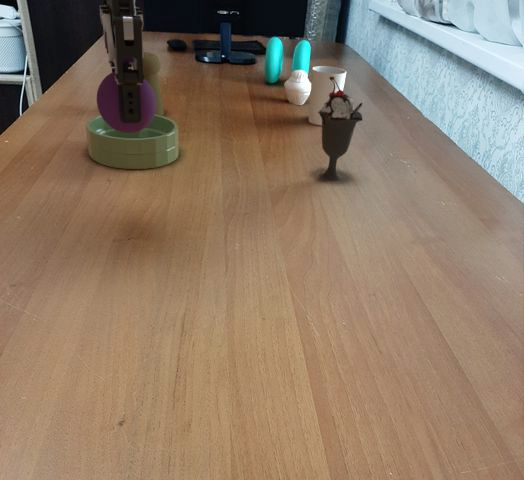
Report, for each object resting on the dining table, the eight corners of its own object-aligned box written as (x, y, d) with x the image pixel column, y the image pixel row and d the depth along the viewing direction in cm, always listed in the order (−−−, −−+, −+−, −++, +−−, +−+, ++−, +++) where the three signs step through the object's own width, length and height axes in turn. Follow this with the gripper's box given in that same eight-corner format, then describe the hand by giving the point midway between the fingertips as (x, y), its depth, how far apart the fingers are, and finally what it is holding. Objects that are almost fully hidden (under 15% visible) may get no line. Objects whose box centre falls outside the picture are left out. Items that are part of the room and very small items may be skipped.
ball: (121, 144, 61) (117, 80, 57) (88, 128, 64) (81, 67, 61) (168, 134, 65) (167, 74, 61) (134, 120, 68) (131, 61, 64)
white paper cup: (334, 130, 112) (342, 75, 106) (302, 125, 114) (308, 70, 108) (341, 122, 117) (349, 69, 111) (310, 116, 119) (317, 64, 113)
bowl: (124, 179, 85) (121, 145, 82) (72, 152, 93) (68, 120, 90) (196, 160, 94) (196, 129, 91) (143, 136, 101) (141, 107, 98)
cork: (167, 119, 110) (165, 56, 104) (136, 120, 108) (132, 56, 102) (160, 110, 115) (158, 49, 108) (130, 111, 113) (126, 49, 106)
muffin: (279, 104, 125) (282, 69, 120) (287, 98, 129) (290, 64, 125) (306, 108, 123) (310, 73, 119) (313, 102, 128) (317, 68, 124)
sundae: (302, 172, 93) (314, 72, 84) (339, 170, 95) (354, 72, 86) (319, 188, 88) (334, 84, 79) (358, 185, 90) (376, 83, 81)
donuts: (303, 91, 135) (308, 44, 129) (262, 86, 136) (265, 39, 130) (307, 82, 143) (312, 37, 137) (268, 77, 144) (271, 33, 138)
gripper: (71, -81, 58) (88, 95, 68) (76, -73, 47) (97, 133, 57) (145, -74, 60) (152, 95, 70) (167, -66, 49) (171, 133, 59)
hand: (127, 112), depth 63 cm, fingers closed on ball, 6 cm apart
